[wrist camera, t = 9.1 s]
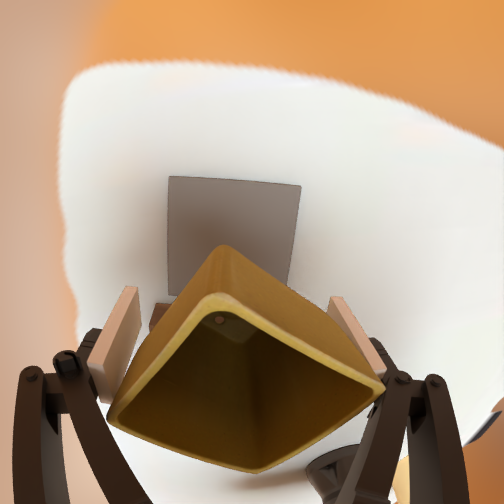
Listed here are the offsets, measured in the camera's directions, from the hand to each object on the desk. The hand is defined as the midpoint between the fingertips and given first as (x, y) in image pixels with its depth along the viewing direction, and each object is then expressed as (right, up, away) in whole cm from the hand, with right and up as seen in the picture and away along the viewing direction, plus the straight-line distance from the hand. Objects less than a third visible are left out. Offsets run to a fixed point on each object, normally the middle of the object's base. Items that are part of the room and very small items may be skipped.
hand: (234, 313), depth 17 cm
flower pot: (0, +1, +1) cm, 1 cm away
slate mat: (-1, +5, +11) cm, 12 cm away
